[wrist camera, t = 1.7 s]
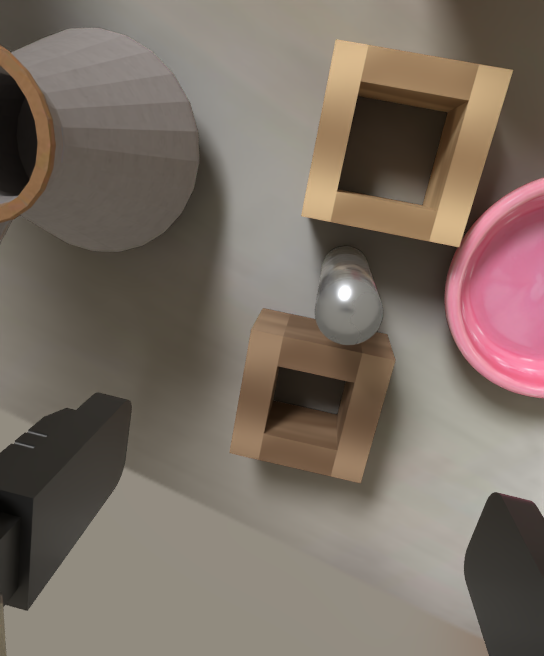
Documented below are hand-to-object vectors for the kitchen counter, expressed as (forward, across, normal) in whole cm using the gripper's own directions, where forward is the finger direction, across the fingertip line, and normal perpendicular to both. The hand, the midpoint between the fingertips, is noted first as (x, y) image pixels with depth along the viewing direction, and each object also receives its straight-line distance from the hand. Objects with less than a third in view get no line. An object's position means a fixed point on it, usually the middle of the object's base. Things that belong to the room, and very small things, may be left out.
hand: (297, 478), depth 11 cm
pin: (+21, -1, -1) cm, 21 cm away
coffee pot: (+21, +15, 0) cm, 25 cm away
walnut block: (+21, -1, +6) cm, 22 cm away
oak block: (+20, -2, -8) cm, 22 cm away
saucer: (+21, -13, -3) cm, 25 cm away
